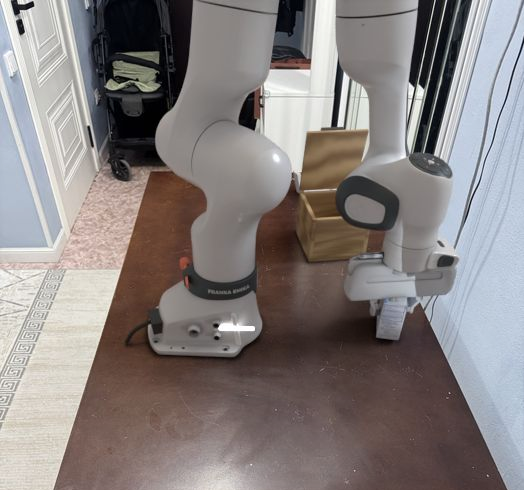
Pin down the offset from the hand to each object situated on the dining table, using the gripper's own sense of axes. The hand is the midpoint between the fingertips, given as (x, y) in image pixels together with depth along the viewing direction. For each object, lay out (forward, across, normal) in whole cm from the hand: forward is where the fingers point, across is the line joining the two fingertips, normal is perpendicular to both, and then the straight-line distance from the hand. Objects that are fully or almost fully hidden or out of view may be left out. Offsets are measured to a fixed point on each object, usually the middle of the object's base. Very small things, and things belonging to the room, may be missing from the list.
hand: (390, 312), depth 96 cm
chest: (+4, -4, +32) cm, 33 cm away
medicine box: (+4, 0, 0) cm, 4 cm away
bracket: (+4, -2, +56) cm, 57 cm away
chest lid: (-14, -4, +38) cm, 40 cm away
